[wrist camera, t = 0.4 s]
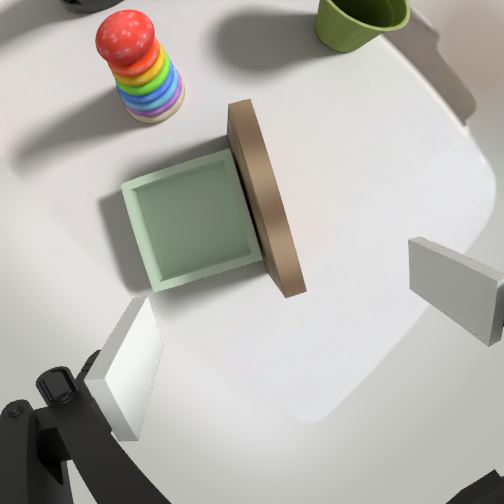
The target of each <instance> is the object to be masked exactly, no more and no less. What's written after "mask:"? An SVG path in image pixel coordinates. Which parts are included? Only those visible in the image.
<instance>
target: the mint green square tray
mask: <svg viewBox="0 0 504 504" xmlns="http://www.w3.org/2000/svg"><path fill="white" fill-rule="evenodd" d="M120 185H121V189H122V193H123V196H124V200H125V204H126V207H127V211H128V214H129V218H130V221H131V224H132V228H133V231H134V234H135V237H136V241H137V244H138V247H139V250H140V253H141V256H142V259H143V262H144V265H145V268H146V271H147V274H148V277H149V280H150V283H151V286H152V289H153V292H154V293H156V292H159V291H162V290H166V289H169V288H172V287H176V286H179V285H182V284H186V283H189V282H192V281H196V280H199V279H202V278H206V277H209V276H212V275H215V274H219V273H222V272H225V271H229V270H232V269H235V268H238V267H242V266H245V265H248V264H251V263H255V262H258V261H261V260H263V258H262V255H261V251H260V248H259V245H258V241H257V238H256V234H255V231H254V228H253V224H252V221H251V217H250V214H249V211H248V207H247V204H246V201H245V197H244V194H243V191H242V187H241V184H240V180H239V177H238V174H237V170H236V167H235V164H234V160H233V157H232V154H231V150H230V148H228V149H225V150H221V151H218V152H215V153H211V154H208V155H205V156H201V157H198V158H195V159H192V160H188V161H185V162H182V163H179V164H176V165H173V166H170V167H167V168H164V169H161V170H158V171H155V172H152V173H149V174H147V175H144V176H141V177H138V178H135V179H133V180H130V181H127V182H125V183H122V184H120Z"/></svg>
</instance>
